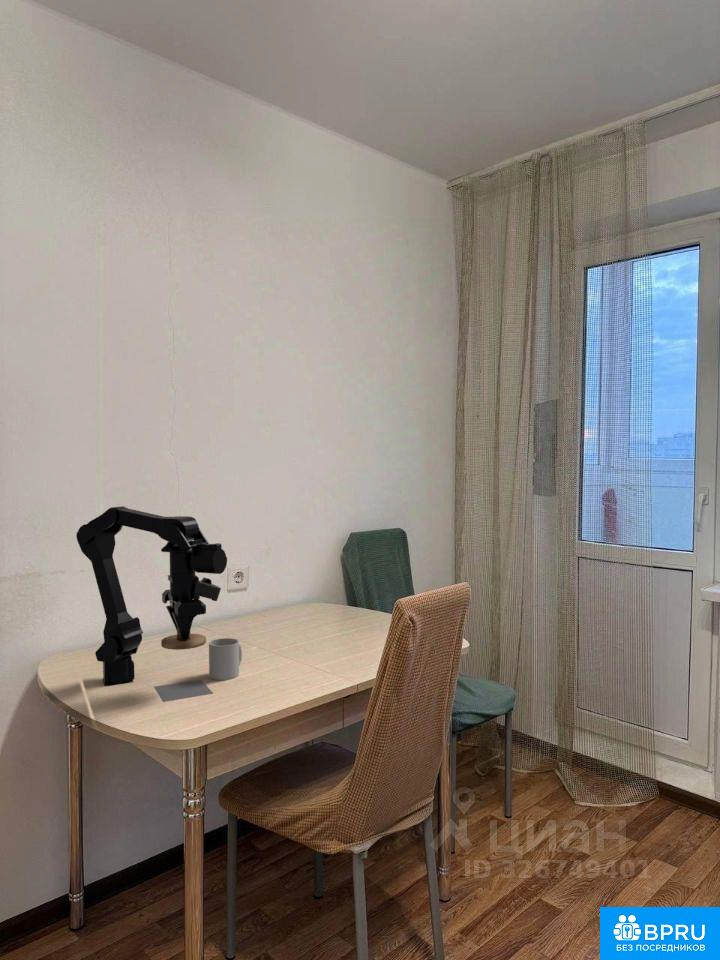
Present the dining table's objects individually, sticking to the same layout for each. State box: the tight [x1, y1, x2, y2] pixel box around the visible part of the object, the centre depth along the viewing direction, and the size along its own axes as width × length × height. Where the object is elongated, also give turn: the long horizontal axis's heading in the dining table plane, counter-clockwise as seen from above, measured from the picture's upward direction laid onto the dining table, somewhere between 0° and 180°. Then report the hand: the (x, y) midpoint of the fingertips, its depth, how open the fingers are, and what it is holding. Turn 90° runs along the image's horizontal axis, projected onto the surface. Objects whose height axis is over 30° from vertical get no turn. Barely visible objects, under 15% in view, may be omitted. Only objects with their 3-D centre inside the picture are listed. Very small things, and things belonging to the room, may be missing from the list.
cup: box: [208, 637, 243, 681], centre depth 167 cm, size 7×10×9 cm
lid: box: [160, 628, 207, 651], centre depth 155 cm, size 10×10×4 cm
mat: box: [154, 678, 214, 703], centre depth 155 cm, size 11×11×1 cm
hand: (183, 638), depth 155 cm, fingers closed on lid, 3 cm apart
